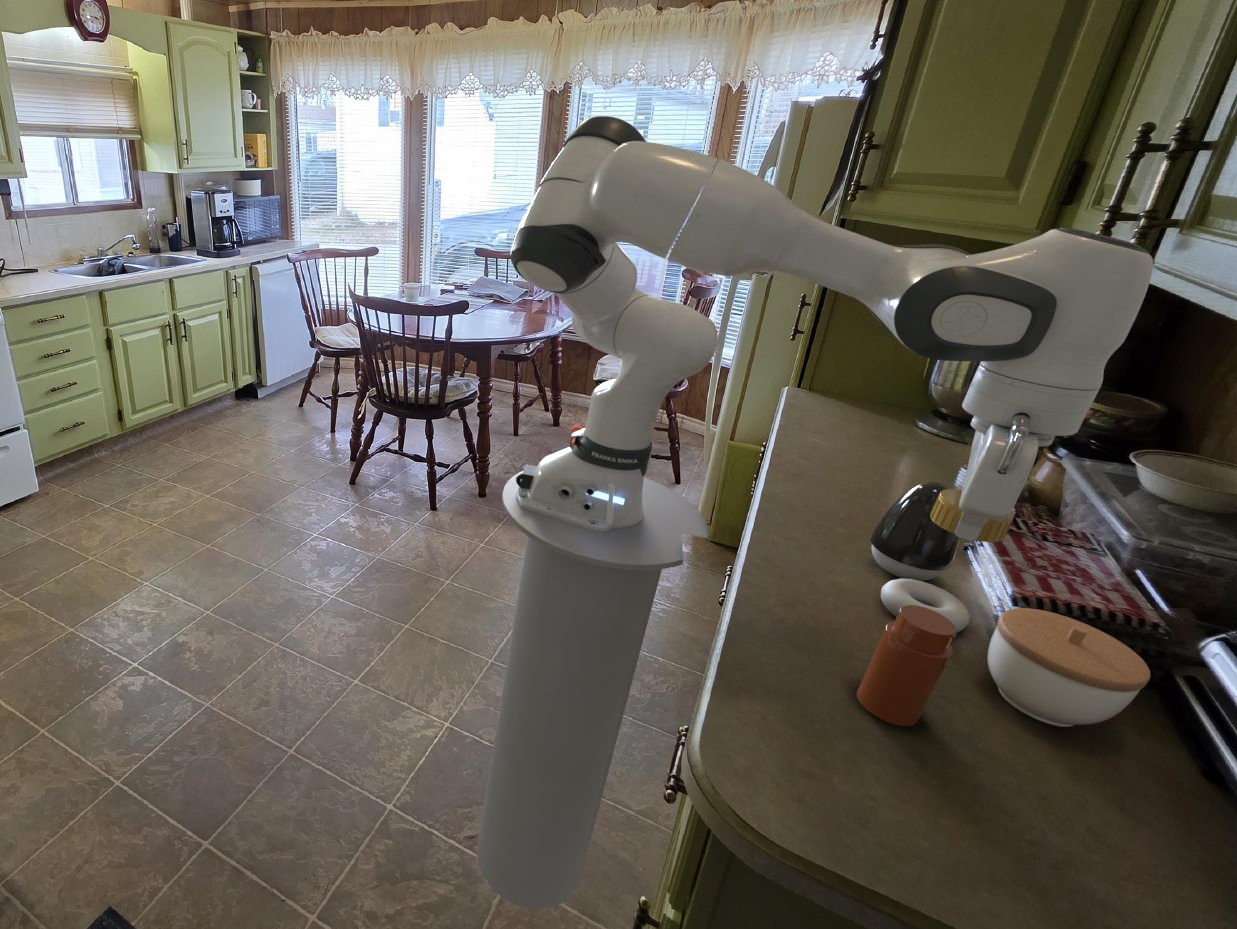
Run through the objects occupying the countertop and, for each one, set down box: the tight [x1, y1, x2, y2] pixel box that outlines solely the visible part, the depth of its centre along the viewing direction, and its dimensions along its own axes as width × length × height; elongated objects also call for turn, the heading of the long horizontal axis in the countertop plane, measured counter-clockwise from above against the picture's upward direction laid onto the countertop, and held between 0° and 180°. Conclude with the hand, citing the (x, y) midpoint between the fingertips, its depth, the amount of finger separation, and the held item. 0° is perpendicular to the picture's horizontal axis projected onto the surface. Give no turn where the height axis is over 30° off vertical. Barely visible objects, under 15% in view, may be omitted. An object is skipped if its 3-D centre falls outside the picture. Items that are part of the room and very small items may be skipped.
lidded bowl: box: [986, 607, 1151, 728], centre depth 78 cm, size 13×13×11 cm
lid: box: [930, 488, 1016, 543], centre depth 71 cm, size 6×6×3 cm
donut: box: [880, 578, 970, 633], centre depth 94 cm, size 10×4×10 cm
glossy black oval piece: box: [870, 481, 960, 582], centre depth 101 cm, size 10×10×15 cm
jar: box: [856, 605, 958, 727], centre depth 76 cm, size 6×6×13 cm
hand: (967, 523), depth 72 cm, fingers closed on lid, 6 cm apart
